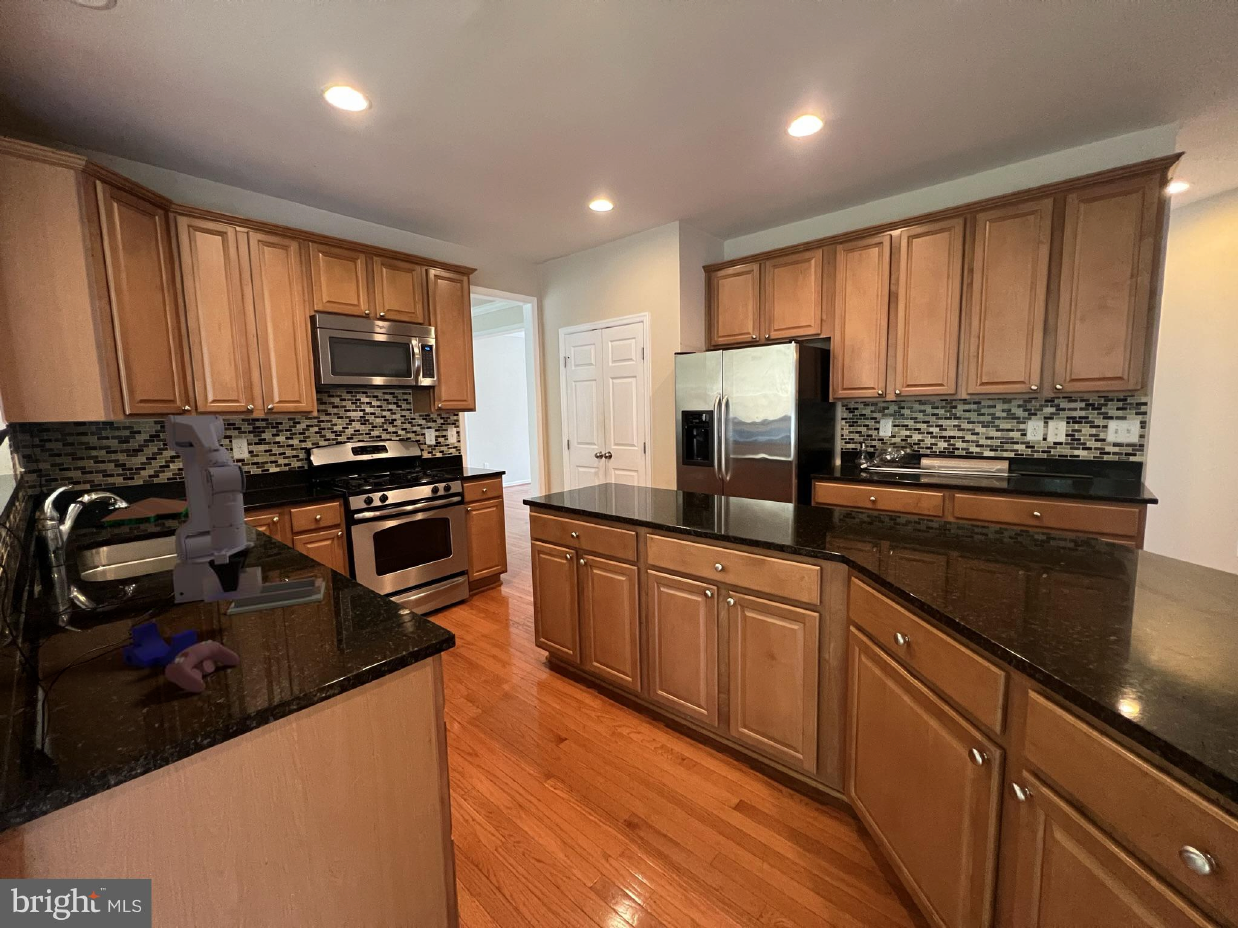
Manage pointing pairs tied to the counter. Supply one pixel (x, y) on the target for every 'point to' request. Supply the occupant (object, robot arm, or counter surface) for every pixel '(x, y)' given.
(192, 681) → the video game controller
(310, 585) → the drive tray
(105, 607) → the counter surface
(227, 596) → the block
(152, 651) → the cable clip
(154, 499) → the house
